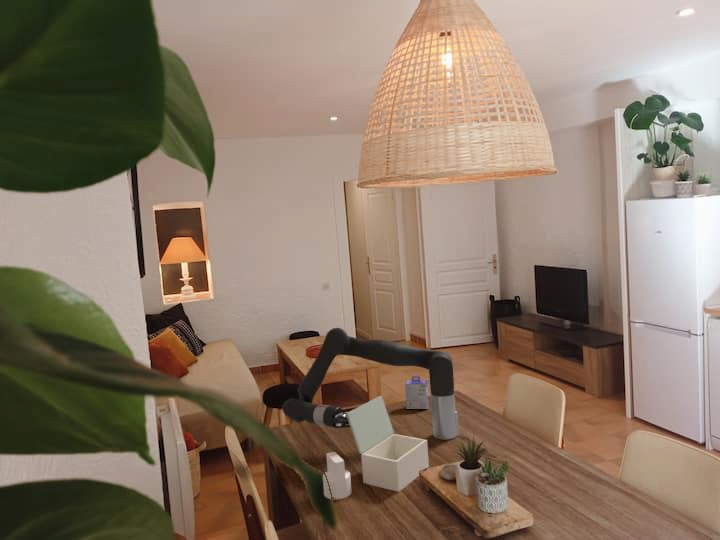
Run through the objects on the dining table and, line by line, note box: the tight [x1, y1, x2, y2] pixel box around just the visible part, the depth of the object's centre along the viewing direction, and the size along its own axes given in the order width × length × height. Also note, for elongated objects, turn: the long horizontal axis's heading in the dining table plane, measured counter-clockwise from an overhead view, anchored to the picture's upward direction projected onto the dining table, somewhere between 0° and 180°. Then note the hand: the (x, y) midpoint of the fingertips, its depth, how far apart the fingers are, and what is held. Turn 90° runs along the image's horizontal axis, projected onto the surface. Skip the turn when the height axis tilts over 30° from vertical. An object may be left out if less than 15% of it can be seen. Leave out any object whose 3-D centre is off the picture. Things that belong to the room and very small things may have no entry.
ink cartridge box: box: [404, 375, 430, 410], centre depth 268 cm, size 10×6×14 cm, turn 78°
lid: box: [346, 395, 395, 455], centre depth 205 cm, size 14×21×1 cm
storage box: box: [360, 433, 430, 493], centre depth 200 cm, size 14×20×10 cm
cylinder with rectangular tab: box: [322, 451, 352, 500], centre depth 191 cm, size 9×9×12 cm
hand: (367, 422), depth 206 cm, fingers closed
